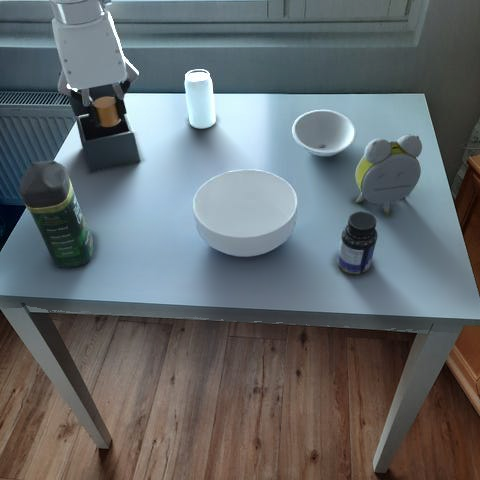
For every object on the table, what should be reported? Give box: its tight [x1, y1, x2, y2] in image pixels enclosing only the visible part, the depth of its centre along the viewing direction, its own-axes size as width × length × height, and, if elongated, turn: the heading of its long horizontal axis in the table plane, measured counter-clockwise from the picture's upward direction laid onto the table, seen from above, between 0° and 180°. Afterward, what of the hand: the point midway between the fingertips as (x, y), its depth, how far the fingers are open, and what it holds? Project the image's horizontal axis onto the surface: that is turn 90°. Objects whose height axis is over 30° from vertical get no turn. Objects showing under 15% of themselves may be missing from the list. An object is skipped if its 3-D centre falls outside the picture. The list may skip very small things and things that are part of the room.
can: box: [184, 69, 216, 129], centre depth 115 cm, size 6×6×12 cm
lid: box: [58, 72, 115, 118], centre depth 104 cm, size 12×12×5 cm
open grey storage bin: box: [75, 113, 141, 173], centre depth 110 cm, size 12×12×8 cm
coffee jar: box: [19, 160, 94, 269], centre depth 86 cm, size 10×8×19 cm
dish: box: [291, 109, 357, 157], centre depth 108 cm, size 18×14×5 cm
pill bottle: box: [336, 210, 379, 276], centre depth 84 cm, size 6×6×11 cm
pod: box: [94, 97, 121, 127], centre depth 85 cm, size 4×4×4 cm
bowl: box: [192, 168, 299, 258], centre depth 91 cm, size 20×20×8 cm
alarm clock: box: [354, 134, 423, 216], centre depth 92 cm, size 12×7×15 cm, turn 99°
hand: (109, 119), depth 86 cm, fingers closed on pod, 4 cm apart
